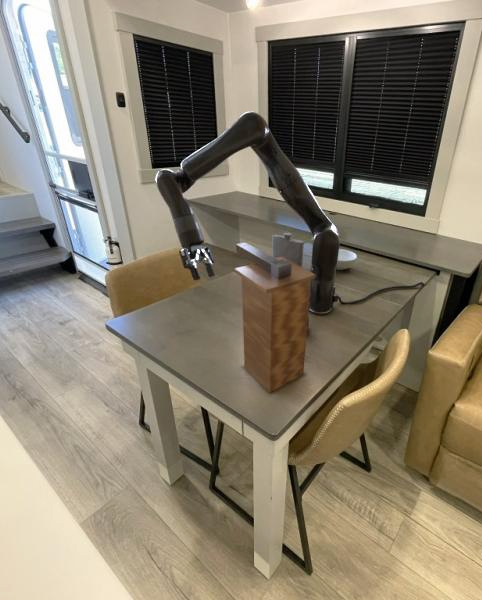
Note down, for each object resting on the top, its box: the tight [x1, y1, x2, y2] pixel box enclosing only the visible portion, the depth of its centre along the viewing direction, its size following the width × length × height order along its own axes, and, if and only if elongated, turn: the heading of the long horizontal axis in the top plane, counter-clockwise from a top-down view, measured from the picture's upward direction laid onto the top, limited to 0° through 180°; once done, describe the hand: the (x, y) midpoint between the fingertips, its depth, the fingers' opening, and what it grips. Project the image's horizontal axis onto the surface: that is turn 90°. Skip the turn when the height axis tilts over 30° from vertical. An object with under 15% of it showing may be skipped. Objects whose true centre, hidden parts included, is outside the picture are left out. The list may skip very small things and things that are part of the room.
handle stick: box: [235, 242, 292, 279], centre depth 85 cm, size 4×20×3 cm, turn 41°
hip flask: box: [271, 232, 305, 268], centre depth 152 cm, size 16×4×20 cm, turn 62°
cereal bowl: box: [336, 248, 358, 271], centre depth 167 cm, size 17×17×7 cm
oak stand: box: [233, 257, 316, 393], centre depth 90 cm, size 15×14×32 cm
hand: (205, 278), depth 111 cm, fingers open, 8 cm apart
